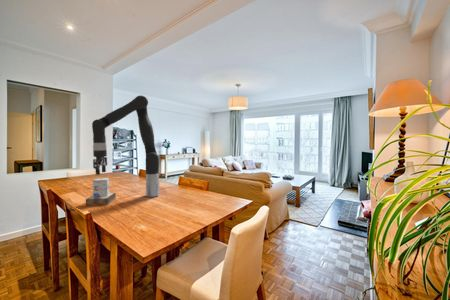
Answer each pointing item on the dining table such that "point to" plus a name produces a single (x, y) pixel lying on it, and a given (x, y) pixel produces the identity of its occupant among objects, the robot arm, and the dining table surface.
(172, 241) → the dining table surface
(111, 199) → the base
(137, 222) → the dining table surface
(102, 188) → the ink box
